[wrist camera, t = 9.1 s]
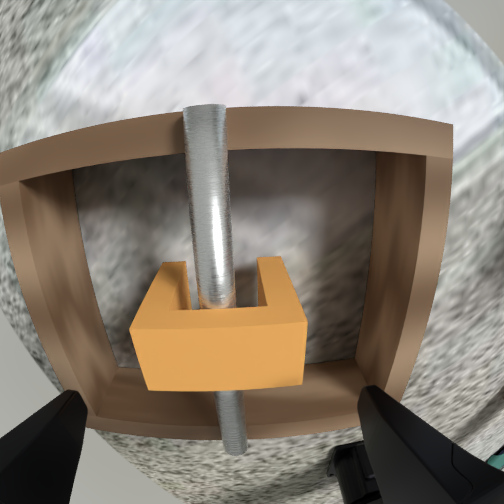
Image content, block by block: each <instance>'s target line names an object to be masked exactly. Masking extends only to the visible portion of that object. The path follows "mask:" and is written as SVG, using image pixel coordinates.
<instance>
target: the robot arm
mask: <svg viewBox="0 0 504 504" xmlns="http://www.w3.org/2000/svg"><path fill="white" fill-rule="evenodd" d="M357 411H358V415H359V420H360V424H361V429H362V434H363V438H364V441H362V442H358V443H353V444H348V445H343V446H338V447H336V448H335V449H334V452H333V456H332V459H331V461H330V464H329V467H328V470H327V476H328V477H332V476H337V478H338V482H339V486H340V490H341V494H342V498H343V502H344V504H504V471H502V470H500V469H498V468H496V467H494V466H492V465H490V464H488V463H486V462H484V461H482V460H481V459H479V458H477V457H475V456H473V455H472V454H470V453H469V452H467V451H466V450H464V449H463V448H461V447H460V446H458V445H457V444H456V443H453V442H452V441H451V440H450V439H448V438H447V437H446V436H444V435H443V434H442V433H440V432H439V431H437V430H436V429H435V428H433V427H432V426H430V425H429V424H428V423H426V422H425V421H424V420H422V419H421V418H420V417H418V416H417V415H415V414H414V413H413V412H411V411H410V410H409V409H407V408H406V407H405V406H403V405H402V404H401V403H399V402H398V401H397V400H395V399H394V398H393V397H391V396H390V395H389V394H387V393H386V392H385V391H383V390H382V389H381V388H379V387H378V386H377V385H368V386H364V387H362V389H361V392H360V396H359V399H358V403H357ZM87 415H88V408H87V406H86V404H85V402H84V400H83V398H82V396H81V394H80V393H79V392H78V391H76V390H70V389H68V390H65V391H64V392H63V393H61V394H60V395H59V396H57V397H56V398H55V399H53V400H52V401H50V402H49V403H48V404H46V405H45V406H44V407H42V408H41V409H40V410H38V411H37V412H36V413H34V414H33V415H31V416H30V417H29V418H27V419H26V420H25V421H24V422H22V423H21V424H19V425H18V426H16V427H15V428H14V429H13V430H11V431H10V432H8V433H7V434H6V435H4V436H3V437H1V438H0V504H69V502H70V496H71V492H72V488H73V483H74V479H75V475H76V470H77V467H78V463H79V459H80V455H81V450H82V445H83V439H84V433H85V427H86V421H87Z"/></svg>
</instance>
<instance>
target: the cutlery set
mask: <svg viewBox="0 0 504 504" xmlns="http://www.w3.org/2000/svg"><path fill="white" fill-rule="evenodd" d="M487 463H488V464H490V465H492V466H494V467H496V468H498V469H500V468H501V467H502V468H501V469H500V470H502V469H503V468H504V450H503V451H502V452H500V453H499V454H498V455H497V456H496V455H492V456H491V457H490V458H489V460H488V462H487Z"/></svg>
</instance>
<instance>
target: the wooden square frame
mask: <svg viewBox="0 0 504 504" xmlns="http://www.w3.org/2000/svg"><path fill="white" fill-rule="evenodd" d="M266 148H325V149H353V150H371V151H376V186H375V207H374V222H373V234H372V245H371V255H370V264H369V273H368V281H367V288H366V296H365V302H364V309H363V315H362V321H361V327H360V333H359V338H358V344H357V349H356V354H355V358H353V359H346V360H339V361H331V362H323V363H314V364H304V372H303V382H302V385H295V386H285V387H275V388H263V389H249V390H230V391H153V390H148V388H147V385H146V382H145V379H144V376H143V373H142V370H141V369H139V368H123V367H118V365H117V363H116V360H115V357H114V354H113V351H112V349H111V346H110V343H109V340H108V337H107V334H106V331H105V327H104V324H103V321H102V318H101V314H100V311H99V307H98V304H97V300H96V297H95V293H94V289H93V285H92V281H91V277H90V273H89V269H88V265H87V260H86V256H85V251H84V246H83V241H82V236H81V230H80V225H79V219H78V213H77V206H76V199H75V192H74V184H73V175H72V169H75V168H80V167H86V166H91V165H97V164H103V163H109V162H116V161H122V160H129V159H137V158H145V157H153V156H162V155H171V154H181V153H185V160H186V175H187V189H188V201H189V213H190V224H191V234H192V244H193V253H194V262H195V271H196V280H197V288H198V296H199V303H200V310H203V309H226V308H237V304H236V290H235V274H234V259H233V242H232V225H231V207H230V188H229V168H228V150H238V149H266ZM452 166H453V125H452V124H447V123H443V122H438V121H432V120H427V119H421V118H416V117H409V116H403V115H396V114H389V113H381V112H372V111H363V110H352V109H339V108H323V107H294V106H262V107H232V108H226V106H225V105H218V104H208V105H196V106H190V107H186V108H183V111H182V112H173V113H165V114H158V115H151V116H144V117H138V118H132V119H126V120H120V121H115V122H110V123H105V124H100V125H95V126H91V127H86V128H82V129H78V130H74V131H70V132H66V133H62V134H58V135H54V136H51V137H47V138H44V139H40V140H37V141H34V142H31V143H27V144H24V145H21V146H18V147H15V148H12V149H9V150H7V151H4V152H1V153H0V202H1V209H2V214H3V220H4V225H5V230H6V234H7V239H8V243H9V248H10V252H11V256H12V259H13V263H14V267H15V270H16V274H17V277H18V281H19V284H20V287H21V290H22V293H23V296H24V299H25V302H26V305H27V308H28V311H29V313H30V316H31V319H32V321H33V324H34V326H35V329H36V331H37V334H38V336H39V339H40V341H41V343H42V346H43V348H44V350H45V352H46V355H47V357H48V359H49V361H50V363H51V365H52V367H53V369H54V372H55V374H56V376H57V378H58V379H59V381H60V383H61V385H62V387H63V389H64V391H65V390H68V389H70V390H76V391H78V392H79V393H80V394H81V396H82V398H83V400H84V402H85V404H86V406H87V408H88V415H87V421H86V427H87V428H92V429H97V430H103V431H109V432H115V433H122V434H129V435H137V436H147V437H157V438H170V439H188V440H222V441H223V446H224V450H225V451H226V452H227V453H228V454H230V455H234V456H238V455H241V454H243V453H245V452H246V451H247V449H248V441H247V439H265V438H278V437H289V436H298V435H306V434H314V433H321V432H327V431H334V430H339V429H345V428H350V427H355V426H360V425H361V424H360V420H359V415H358V411H357V403H358V399H359V396H360V392H361V389H362V387H364V386H368V385H377V386H378V387H379V388H381V389H382V390H383V391H385V392H386V393H387V394H389V395H390V396H391V397H393V398H394V399H395V400H397V401H398V402H399V403H400V401H401V399H402V396H403V394H404V391H405V389H406V386H407V383H408V381H409V378H410V375H411V373H412V370H413V367H414V364H415V361H416V358H417V355H418V352H419V349H420V346H421V343H422V340H423V336H424V333H425V329H426V326H427V322H428V319H429V315H430V311H431V307H432V303H433V299H434V295H435V291H436V286H437V282H438V277H439V272H440V267H441V262H442V257H443V251H444V245H445V238H446V231H447V224H448V216H449V207H450V196H451V184H452Z"/></svg>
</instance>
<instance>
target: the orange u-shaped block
mask: <svg viewBox="0 0 504 504" xmlns="http://www.w3.org/2000/svg"><path fill="white" fill-rule="evenodd" d="M257 280H258V307H245V308H226V309H203V310H192V307H191V300H190V292H189V285H188V277H187V269H186V261H182V262H163V263H162V265H161V267H160V269H159V271H158V272H157V274H156V276H155V278H154V280H153V282H152V284H151V286H150V288H149V290H148V292H147V294H146V296H145V298H144V300H143V302H142V304H141V306H140V308H139V310H138V312H137V314H136V316H135V318H134V320H133V322H132V324H131V326H130V328H129V330H130V334H131V337H132V341H133V344H134V348H135V351H136V354H137V357H138V361H139V364H140V367H141V370H142V373H143V376H144V379H145V382H146V385H147V388H148V390H153V391H230V390H249V389H263V388H275V387H285V386H295V385H302V382H303V372H304V361H305V350H306V338H307V325H308V321H307V318H306V316H305V314H304V311H303V309H302V306H301V304H300V301H299V299H298V297H297V294H296V292H295V289H294V287H293V285H292V282H291V280H290V277H289V275H288V273H287V270H286V268H285V266H284V263H283V261H282V258H281V256H277V257H259V258H257Z"/></svg>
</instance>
